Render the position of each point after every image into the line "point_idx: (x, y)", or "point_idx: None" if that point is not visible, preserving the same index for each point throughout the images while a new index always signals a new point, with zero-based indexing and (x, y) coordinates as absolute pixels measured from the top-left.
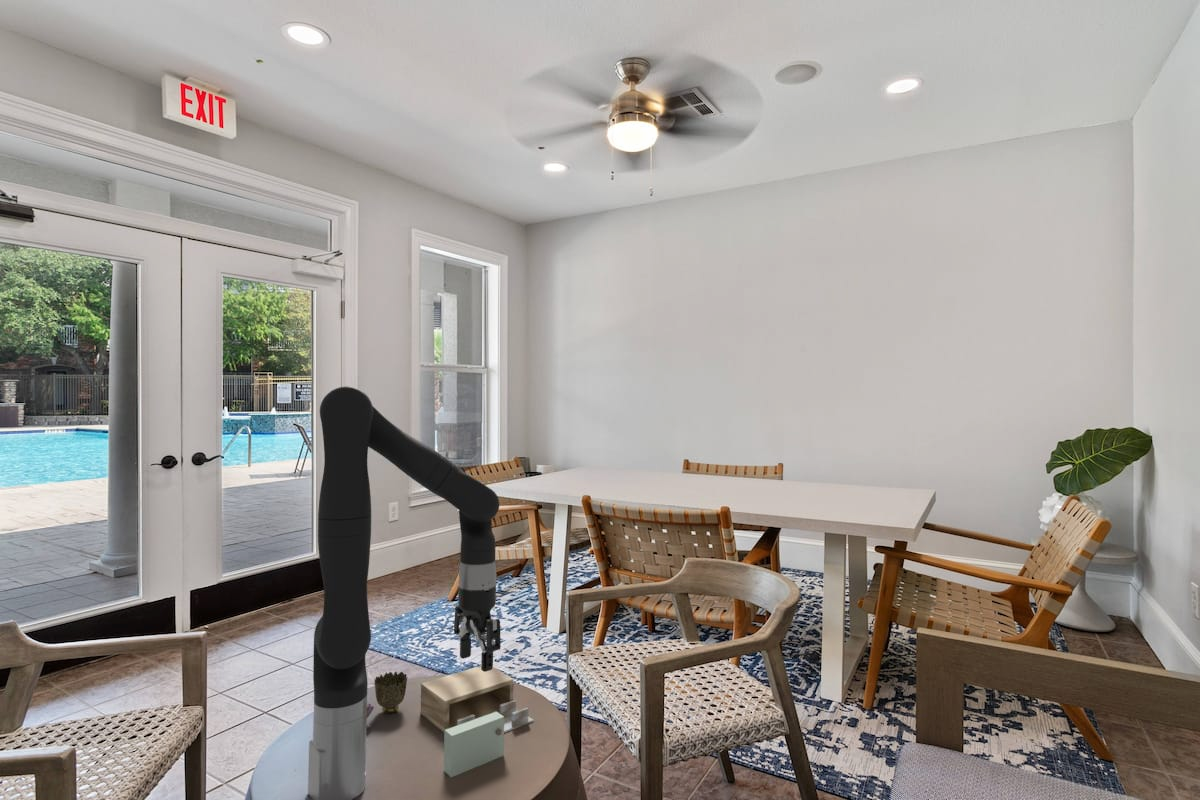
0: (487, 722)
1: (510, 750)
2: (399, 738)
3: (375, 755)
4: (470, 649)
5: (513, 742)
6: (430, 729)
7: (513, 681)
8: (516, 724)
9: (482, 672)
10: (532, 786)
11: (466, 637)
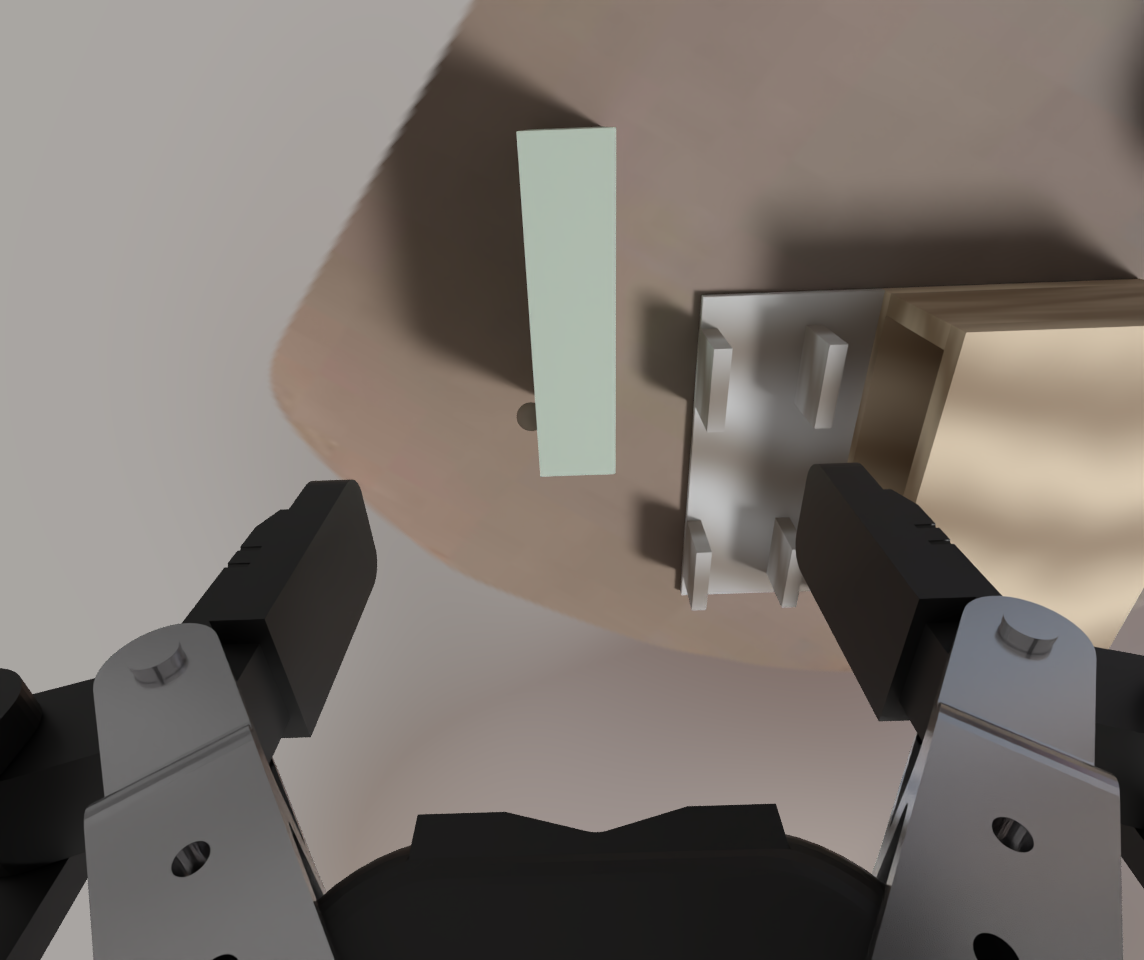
0: (537, 383)
1: None
2: (1039, 66)
3: None
4: (821, 605)
5: None
6: (969, 249)
7: None
8: (687, 536)
9: None
10: (291, 376)
11: (926, 696)
